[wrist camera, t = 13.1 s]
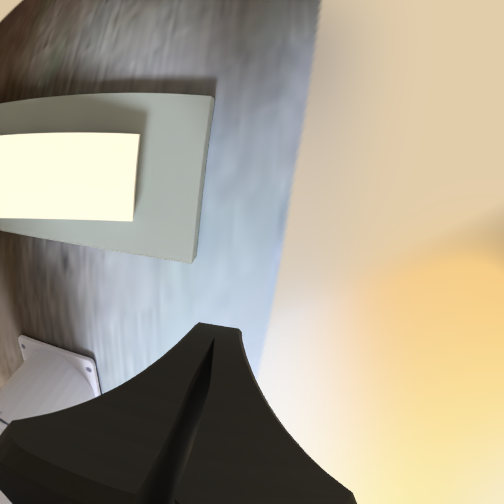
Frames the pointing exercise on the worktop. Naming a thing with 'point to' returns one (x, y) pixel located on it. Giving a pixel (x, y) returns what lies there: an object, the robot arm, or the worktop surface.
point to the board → (148, 170)
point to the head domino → (69, 176)
